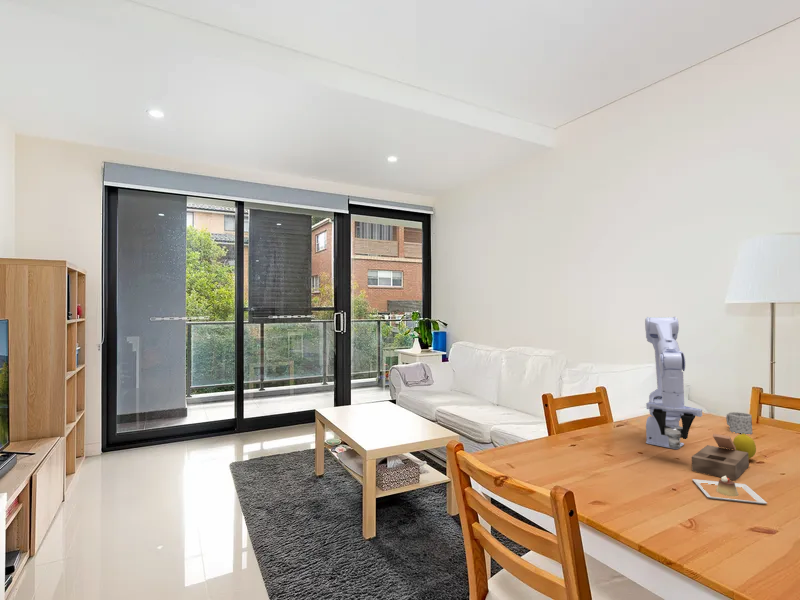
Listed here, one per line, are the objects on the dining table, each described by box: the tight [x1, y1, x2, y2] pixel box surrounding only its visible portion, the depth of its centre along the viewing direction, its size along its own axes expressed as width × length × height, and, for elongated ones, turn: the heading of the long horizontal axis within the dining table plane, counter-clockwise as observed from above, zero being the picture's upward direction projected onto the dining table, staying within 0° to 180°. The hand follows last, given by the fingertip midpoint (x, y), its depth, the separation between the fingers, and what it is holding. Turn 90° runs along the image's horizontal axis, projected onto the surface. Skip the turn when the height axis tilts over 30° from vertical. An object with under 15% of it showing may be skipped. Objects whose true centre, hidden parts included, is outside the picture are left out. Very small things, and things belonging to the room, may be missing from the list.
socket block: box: [691, 444, 750, 482], centre depth 125 cm, size 10×16×4 cm, turn 131°
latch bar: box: [712, 433, 736, 450], centre depth 128 cm, size 8×4×1 cm
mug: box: [725, 411, 753, 435], centre depth 163 cm, size 10×7×7 cm
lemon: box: [732, 434, 757, 459], centre depth 132 cm, size 6×6×8 cm
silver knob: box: [664, 425, 683, 450], centre depth 132 cm, size 5×5×6 cm
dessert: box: [692, 475, 768, 505], centre depth 108 cm, size 12×12×5 cm
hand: (674, 436), depth 132 cm, fingers closed on silver knob, 5 cm apart
